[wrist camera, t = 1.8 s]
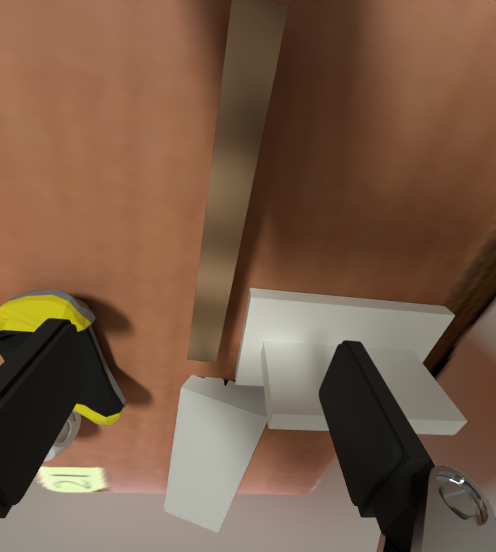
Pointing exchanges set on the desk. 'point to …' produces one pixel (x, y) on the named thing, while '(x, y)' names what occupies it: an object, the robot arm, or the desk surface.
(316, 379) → the stand
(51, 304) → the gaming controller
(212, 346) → the walnut batten
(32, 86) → the desk surface
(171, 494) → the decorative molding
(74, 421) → the die
